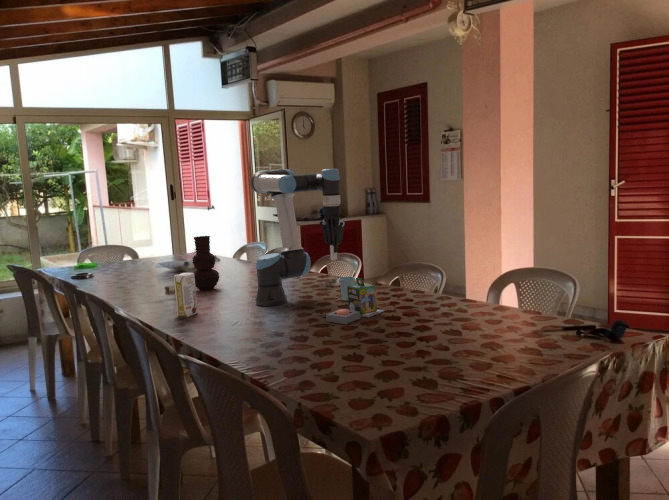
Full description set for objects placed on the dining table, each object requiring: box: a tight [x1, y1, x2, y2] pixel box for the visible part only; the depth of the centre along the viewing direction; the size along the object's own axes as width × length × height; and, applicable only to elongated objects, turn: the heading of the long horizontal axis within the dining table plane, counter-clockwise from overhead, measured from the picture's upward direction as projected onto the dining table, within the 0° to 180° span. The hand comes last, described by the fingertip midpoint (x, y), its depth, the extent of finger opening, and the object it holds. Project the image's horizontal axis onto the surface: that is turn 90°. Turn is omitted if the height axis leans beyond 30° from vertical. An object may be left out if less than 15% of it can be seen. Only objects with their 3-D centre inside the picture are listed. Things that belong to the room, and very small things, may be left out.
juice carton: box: [173, 272, 198, 318], centre depth 261 cm, size 8×9×19 cm
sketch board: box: [360, 308, 385, 318], centre depth 248 cm, size 14×12×1 cm
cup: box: [338, 276, 356, 302], centre depth 275 cm, size 8×8×10 cm
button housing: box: [325, 309, 361, 325], centre depth 237 cm, size 10×10×3 cm
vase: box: [191, 235, 220, 292], centre depth 317 cm, size 15×15×30 cm
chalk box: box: [347, 277, 378, 315], centre depth 247 cm, size 9×9×15 cm
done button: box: [336, 308, 349, 315], centre depth 237 cm, size 5×5×3 cm
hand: (334, 259), depth 248 cm, fingers closed
